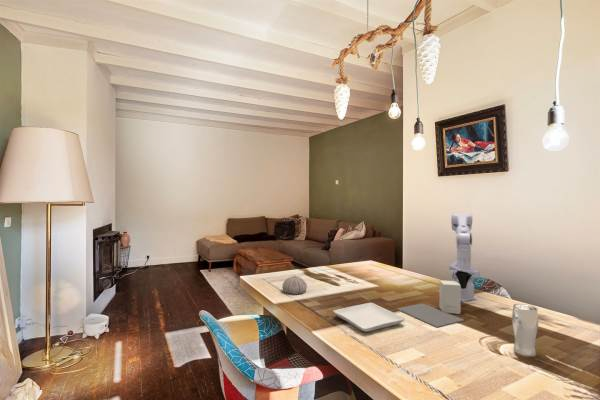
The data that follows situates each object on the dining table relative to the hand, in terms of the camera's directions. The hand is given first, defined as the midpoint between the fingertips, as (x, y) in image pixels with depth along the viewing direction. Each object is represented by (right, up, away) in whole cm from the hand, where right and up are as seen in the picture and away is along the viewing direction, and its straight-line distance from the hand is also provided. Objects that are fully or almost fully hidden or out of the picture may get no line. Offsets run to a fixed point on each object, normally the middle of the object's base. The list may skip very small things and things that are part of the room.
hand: (463, 288), depth 147 cm
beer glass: (-1, -10, -42) cm, 43 cm away
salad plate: (-48, -9, -17) cm, 51 cm away
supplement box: (-8, -9, -4) cm, 13 cm away
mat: (-20, -9, -10) cm, 24 cm away
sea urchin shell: (-78, -8, +23) cm, 82 cm away
